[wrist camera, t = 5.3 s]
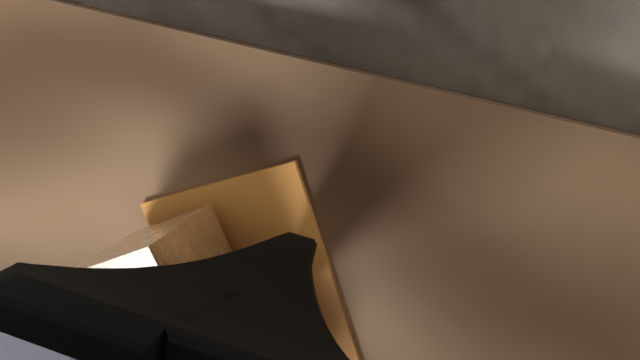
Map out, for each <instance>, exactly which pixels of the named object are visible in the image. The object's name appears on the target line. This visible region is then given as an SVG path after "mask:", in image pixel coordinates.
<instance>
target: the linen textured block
mask: <svg viewBox="0 0 640 360" xmlns="http://www.w3.org/2000/svg"><path fill="white" fill-rule="evenodd" d="M229 252H232V251H231V248H230V246H229V244H228V242H227V240H226V237H225V235H224V233H223V231H222V229H221V226H220V224H219V222H218V220H217V217H216V215H215V213H214V211H213V209H212V206H211V204H210V205H207V206H204V207H201V208H199V209H196V210H193V211H190V212H188V213H185V214H182V215H179V216H177V217H174V218H171V219H168V220H166V221H163V222H160V223H157V224H155V225H152V226H149V227H146V228H144V229H141V230H138V231H135V232H133V233H131V234H129V235H128V236H126V237H124V238H123V239H121V240H119V241H118V242H116V243H114V244H113V245H111V246H109V247H108V248H106V249H104V250H103V251H101V252H99V253H98V254H96V255H94V256H92V257H91V258H89V259H87V260H86V261H84V262H82V263H81V264H79V265H77V266H76V267H77V268H139V267H150V266H161V265H172V264H180V263H185V262H191V261H197V260H202V259H206V258H211V257H215V256H218V255H222V254H225V253H229Z"/></svg>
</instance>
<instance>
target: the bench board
mask: <svg viewBox="0 0 640 360" xmlns="http://www.w3.org/2000/svg"><path fill="white" fill-rule="evenodd" d="M210 204H211V206H212V209H213V211H214V213H215V215H216V217H217V220H218V222H219V224H220V226H221V229H222V231H223V233H224V235H225V237H226V240H227V242H228V244H229V246H230V248H231V251H235V250H239V249H242V248H245V247H248V246H251V245H254V244H257V243H259V242H262V241H265V240H268V239H270V238H273V237H276V236H278V235H281V234H284V233H288V232H292V233H295V234H298V235H302V236H305V237H309V238H312V239H314V240H315V242H316V244H317V247H316V252H315V256H314V260H313V264H312V273H313V282H314V287H315V292H316V296H317V300H318V304H319V307H320V309H321V312H322V315H323V317H324V320H325V322H326V324H327V327H328V329H329V330H330V332H331V334H332V335H333V337H334V339H335V341H336V342H337V344H338V345H339V346H340V348H341V349H342V350H343V352H344V353H345V354H346V356H347V357H348V358H349V359H350V360H640V135H637V134H633V133H628V132H624V131H620V130H616V129H611V128H607V127H603V126H598V125H594V124H590V123H586V122H581V121H577V120H573V119H568V118H564V117H560V116H556V115H551V114H547V113H543V112H539V111H534V110H530V109H526V108H521V107H517V106H513V105H509V104H504V103H500V102H496V101H491V100H487V99H483V98H479V97H474V96H470V95H466V94H461V93H457V92H453V91H449V90H444V89H440V88H436V87H431V86H427V85H423V84H419V83H414V82H410V81H406V80H402V79H397V78H393V77H389V76H384V75H380V74H376V73H372V72H367V71H363V70H359V69H354V68H350V67H346V66H342V65H337V64H333V63H329V62H324V61H320V60H316V59H312V58H307V57H303V56H299V55H294V54H290V53H286V52H282V51H277V50H273V49H269V48H265V47H260V46H256V45H252V44H247V43H243V42H239V41H235V40H230V39H226V38H222V37H217V36H213V35H209V34H205V33H200V32H196V31H192V30H187V29H183V28H179V27H175V26H170V25H166V24H162V23H157V22H153V21H149V20H145V19H140V18H136V17H132V16H128V15H123V14H119V13H115V12H110V11H106V10H102V9H98V8H93V7H89V6H85V5H80V4H76V3H72V2H68V1H63V0H0V271H2V270H3V269H5V268H7V267H9V266H11V265H13V264H15V263H17V262H21V263H29V264H40V265H52V266H64V267H76V266H77V265H79V264H81V263H82V262H84V261H86V260H87V259H89V258H91V257H92V256H94V255H96V254H98V253H99V252H101V251H103V250H104V249H106V248H108V247H109V246H111V245H113V244H114V243H116V242H118V241H119V240H121V239H123V238H124V237H126V236H128V235H129V234H131V233H133V232H135V231H138V230H141V229H144V228H146V227H149V226H152V225H155V224H157V223H160V222H163V221H166V220H168V219H171V218H174V217H177V216H179V215H182V214H185V213H188V212H190V211H193V210H196V209H199V208H201V207H204V206H207V205H210Z"/></svg>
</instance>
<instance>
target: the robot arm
mask: <svg viewBox="0 0 640 360" xmlns="http://www.w3.org/2000/svg"><path fill="white" fill-rule="evenodd" d="M316 247H317V244H316V242H315V240H314V239H312V238H309V237H305V236H302V235H298V234H295V233H292V232H288V233H284V234H281V235H278V236H276V237H273V238H270V239H268V240H265V241H262V242H259V243H257V244H254V245H251V246H248V247H245V248H242V249H239V250H235V251H232V252H229V253H225V254H222V255H218V256H215V257H211V258H206V259H202V260H197V261H191V262H185V263H180V264H172V265H161V266H150V267H139V268H77V267H64V266H52V265H40V264H29V263H21V262H17V263H15V264H13V265H11V266H9V267H7V268H5V269H3V270H2V271H0V360H350V359H349V358H348V357H347V356H346V354H345V353H344V352H343V350H342V349H341V348H340V346H339V345H338V344H337V342H336V341H335V339H334V337H333V335H332V334H331V332H330V330H329V329H328V327H327V324H326V322H325V320H324V317H323V315H322V312H321V309H320V307H319V304H318V300H317V296H316V292H315V287H314V282H313V273H312V264H313V260H314V256H315V252H316Z"/></svg>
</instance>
